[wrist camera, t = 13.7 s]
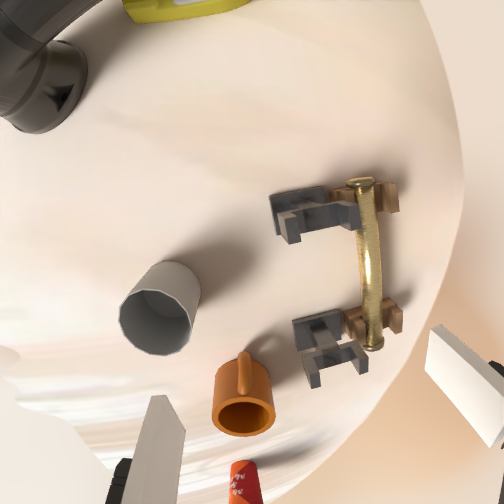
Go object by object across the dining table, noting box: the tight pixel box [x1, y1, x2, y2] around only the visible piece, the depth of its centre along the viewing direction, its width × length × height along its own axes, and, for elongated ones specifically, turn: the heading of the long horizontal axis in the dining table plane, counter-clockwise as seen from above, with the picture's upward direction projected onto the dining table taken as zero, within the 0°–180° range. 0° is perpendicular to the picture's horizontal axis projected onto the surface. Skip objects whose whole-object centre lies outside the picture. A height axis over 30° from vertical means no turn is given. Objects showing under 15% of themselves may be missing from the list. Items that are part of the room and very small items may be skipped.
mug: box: [212, 351, 276, 437], centre depth 38 cm, size 9×12×9 cm
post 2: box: [292, 309, 369, 389], centre depth 36 cm, size 5×7×11 cm
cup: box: [118, 261, 201, 356], centre depth 34 cm, size 8×8×10 cm
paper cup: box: [229, 461, 263, 504], centre depth 43 cm, size 8×8×14 cm
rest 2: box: [344, 298, 403, 346], centre depth 39 cm, size 4×8×5 cm, turn 102°
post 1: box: [269, 186, 362, 244], centre depth 31 cm, size 5×7×11 cm
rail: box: [346, 177, 384, 352], centre depth 35 cm, size 24×4×4 cm
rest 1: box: [329, 182, 400, 213], centre depth 34 cm, size 4×8×5 cm, turn 102°
